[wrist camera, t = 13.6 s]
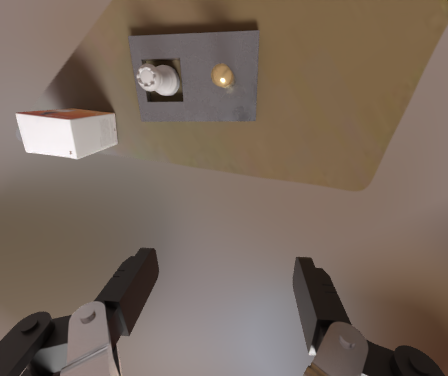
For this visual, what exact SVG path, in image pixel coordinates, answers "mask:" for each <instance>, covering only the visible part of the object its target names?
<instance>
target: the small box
mask: <svg viewBox="0 0 448 376" xmlns="http://www.w3.org/2000/svg"><path fill="white" fill-rule="evenodd" d="M16 117H17V121H18V125H19V128H20V132H21V136H22V140H23V143H24V147H25V150H26V152H27V153H38V154H46V155H54V156H61V157H68V158H73V159H79V158H82V157H85V156H87V155H90V154H93V153H95V152H98V151H101V150H103V149H106V148H109V147H111V146H114V145H116V144H118V140H117V130H116V121H115V113H109V112H98V111H91V110H83V109H75V108H72V109H59V110H47V111H32V112H18V113H16Z"/></svg>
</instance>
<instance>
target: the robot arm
mask: <svg viewBox="0 0 448 376" xmlns="http://www.w3.org/2000/svg"><path fill="white" fill-rule="evenodd" d="M158 274H159V267H158V261H157V255H156V250H155V249H154V248H140V249H139V251H138V252H137V254H136V255H135V256H131V257H129V258H128V259H127V260H125V261H124V262H123V263H122V264H121V266H120V267H119V268H118V270H117V271H116V272H115V274H114V275H113V277H112V278H111V279H110V280H109V282H108V283H107V285H106V286H105V287H104V288H103V290H102V291H101V292H100V294H99V295H98V296H97V298H96V299H95V300H94V301H93V302H89V303H87V304H85V305H83V306H81V307H80V308H78V309H77V310H76V311H75V312H74V313H73V315H69V316H65V317H60V318H55V319H52V318H51V316H50V314H49V313H47V312H37V313H34V314H31V315H29V316H27V317H26V318H24V319H22V320H21V321H20V322H18V323H17V324H16V325H15V326H14V327H13V328H12V329H11V330H10V332H9V333H8V334H7V335H6V336H5V337H4V338H3V339H2V340H1V341H0V376H19V375H20V374H21V373H22V371H23V370H24V369H25V368H26V367H27V368H26V370H25V371H24V372H23V374H22V375H21V376H122V371H121V364H120V357H119V351H118V345H117V342H118V340H119V338H120V336H121V335H122V336H130V333H131V332H132V329H133V327H134V325H135V323H136V321H137V319H138V317H139V315H140V313H141V311H142V309H143V307H144V305H145V303H146V301H147V299H148V297H149V295H150V293H151V291H152V289H153V287H154V285H155V283H156V280H157V278H158ZM293 289H294V294H295V298H296V302H297V307H298V311H299V315H300V320H301V324H302V328H303V332H304V337H305V341H306V345H307V349H308V354H309V355H314V356H315V357H314V360H313V361H312V363H311V365H310V366H308V367H307V369H306V371H305V372H304V375H303V376H445V375H444V374H443V372H442V371H441V369H440V368H439V366H438V365H437V364H436V363H435V362H434V361H433V360H432V359H431V358H430V357H429V356H427V355H426V354H425V353H423V352H421V351H420V350H418V349H416V348H413V347H411V346H399V347H397V348H396V349H395V351H392V350H389V349H387V348H384V347H381V346H379V345H376V344H374V343H372V342H369V341H368V340H366V339H365V337H364V336H363V335H362V334H361V332H360V331H359V330H358V329H356V328H355V327H353V326H352V324H351V323H350V320H349V318H348V316H347V314H346V311H345V309H344V307H343V305H342V303H341V301H340V298H339V296H338V294H337V292H336V289H335V287H334V286H333V283H332V281H331V278H330V276H329V275H328V274H327V273H326V272H325V271H324V270H323V269H322V268H315V266H314V263H313V261H312V258H308V257H296V261H295V267H294V274H293Z"/></svg>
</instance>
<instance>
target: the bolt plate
mask: <svg viewBox="0 0 448 376" xmlns="http://www.w3.org/2000/svg"><path fill="white" fill-rule="evenodd" d="M128 39H129V45H130V51H131V58H132V64H133V70H134V77H135V83H136V89H137V95H138V102H139V108H140V114H141V121H256V98H257V74H258V51H259V30H255V31H232V32H209V33H187V34H164V35H142V36H128ZM158 60H180V64H181V77H182V89H183V101H184V102H151V97H150V91H146V90H145V89H143V88H142V87H141V86H140V84H139V83H138V80H137V78H136V74H137V72H138V69H139V68H140V67H141V66H142V65H144V64H146V61H158Z"/></svg>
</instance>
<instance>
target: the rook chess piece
mask: <svg viewBox="0 0 448 376" xmlns="http://www.w3.org/2000/svg"><path fill="white" fill-rule="evenodd" d="M136 78H137V80H138V83H139V84H140V86H141V87H142V88H143V89H145V90H146V91H156V92H157V93H159V94H160V95H164V96H171V95H173V94H175V93H176V92H177V90H178V88H179V83H180V80H179V76H178V74H177V72H176V71H175V69H173V68H172V67H170V66H167V65H160V66H157V67H155V66H153V65H152V64H144V65H142V66H141V67H140V68H139V69H138V72H137V74H136Z"/></svg>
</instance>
